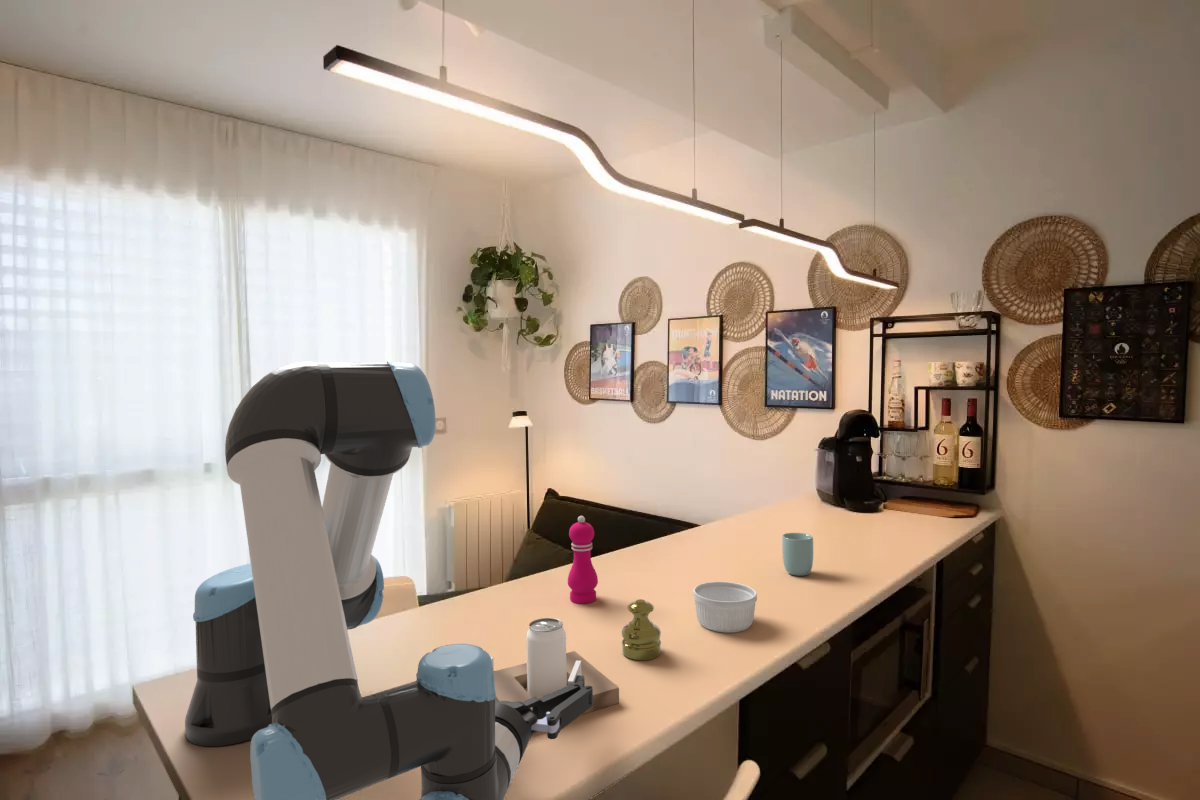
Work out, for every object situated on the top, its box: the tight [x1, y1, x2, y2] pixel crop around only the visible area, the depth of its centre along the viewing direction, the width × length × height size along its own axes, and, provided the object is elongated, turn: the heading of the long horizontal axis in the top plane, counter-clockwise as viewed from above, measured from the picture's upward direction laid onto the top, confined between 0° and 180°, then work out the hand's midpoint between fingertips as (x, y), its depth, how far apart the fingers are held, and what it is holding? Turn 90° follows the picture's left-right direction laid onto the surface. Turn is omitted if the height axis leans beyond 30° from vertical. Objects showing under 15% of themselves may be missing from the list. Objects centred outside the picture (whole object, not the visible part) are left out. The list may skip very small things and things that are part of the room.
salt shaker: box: [621, 598, 662, 661], centre depth 119 cm, size 7×7×10 cm
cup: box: [781, 532, 814, 577], centre depth 165 cm, size 8×8×10 cm
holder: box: [494, 650, 620, 715], centre depth 103 cm, size 18×16×2 cm
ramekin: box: [692, 581, 758, 634], centre depth 132 cm, size 13×13×7 cm
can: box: [525, 617, 567, 698], centre depth 103 cm, size 6×6×12 cm
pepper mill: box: [567, 515, 599, 605], centre depth 149 cm, size 7×7×20 cm
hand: (534, 667), depth 95 cm, fingers open, 13 cm apart
